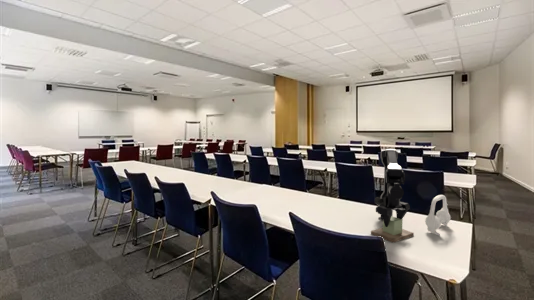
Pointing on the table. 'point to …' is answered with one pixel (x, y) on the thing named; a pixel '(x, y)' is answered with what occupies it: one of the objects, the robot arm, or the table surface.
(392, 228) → the sage green cube
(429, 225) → the headset
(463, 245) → the table surface
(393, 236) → the brown rectangular block
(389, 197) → the robot arm
